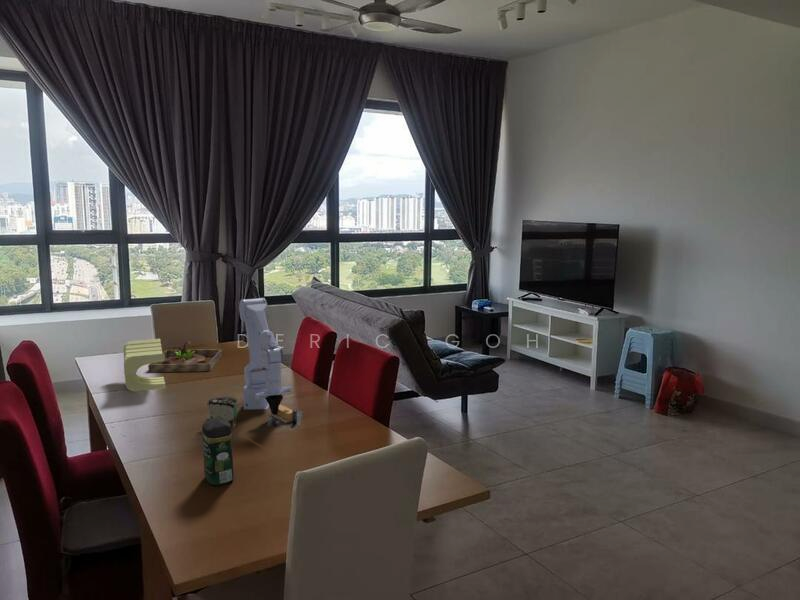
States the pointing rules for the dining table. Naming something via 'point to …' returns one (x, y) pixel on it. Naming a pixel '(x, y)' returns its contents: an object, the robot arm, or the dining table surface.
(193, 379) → the dining table surface
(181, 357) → the plant
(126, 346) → the slatted curved stool
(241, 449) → the dining table surface
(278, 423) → the tray
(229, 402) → the food container
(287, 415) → the yellow rectangular bar
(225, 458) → the coffee jar
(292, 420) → the label near
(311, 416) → the dining table surface
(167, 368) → the square wooden planter tray
